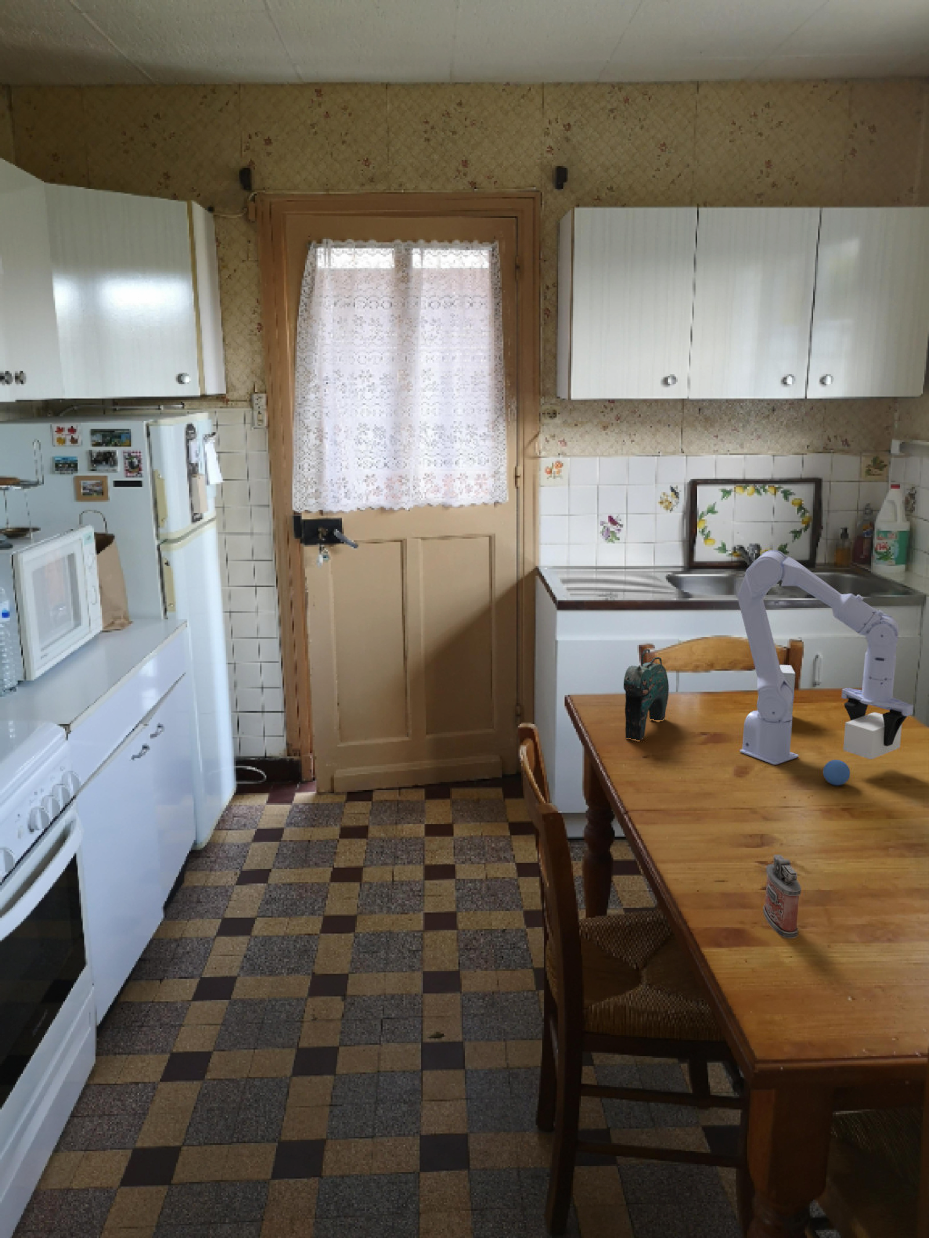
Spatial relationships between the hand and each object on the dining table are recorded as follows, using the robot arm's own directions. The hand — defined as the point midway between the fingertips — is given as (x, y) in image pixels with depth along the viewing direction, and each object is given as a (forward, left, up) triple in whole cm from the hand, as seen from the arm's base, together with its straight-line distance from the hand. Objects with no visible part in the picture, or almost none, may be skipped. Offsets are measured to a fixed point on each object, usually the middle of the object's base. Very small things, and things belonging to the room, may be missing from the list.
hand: (872, 739), depth 194 cm
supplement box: (-32, +10, -7) cm, 34 cm away
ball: (0, -12, -4) cm, 12 cm away
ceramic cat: (-45, -20, -7) cm, 50 cm away
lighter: (+26, -63, -7) cm, 68 cm away
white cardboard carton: (0, 0, -2) cm, 2 cm away
